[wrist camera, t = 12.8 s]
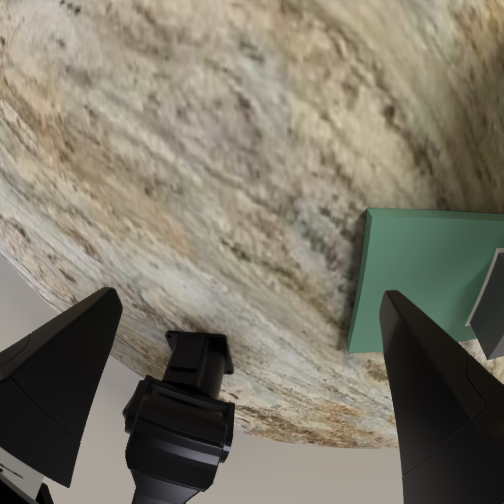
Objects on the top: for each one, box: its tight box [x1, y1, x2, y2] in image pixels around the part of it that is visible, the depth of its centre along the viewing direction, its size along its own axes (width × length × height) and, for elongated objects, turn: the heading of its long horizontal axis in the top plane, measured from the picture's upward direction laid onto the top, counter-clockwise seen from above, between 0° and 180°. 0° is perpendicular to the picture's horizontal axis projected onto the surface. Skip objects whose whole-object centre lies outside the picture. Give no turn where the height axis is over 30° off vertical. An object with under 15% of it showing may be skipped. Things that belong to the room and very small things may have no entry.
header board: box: [346, 208, 504, 354], centre depth 19 cm, size 14×22×4 cm, turn 95°
